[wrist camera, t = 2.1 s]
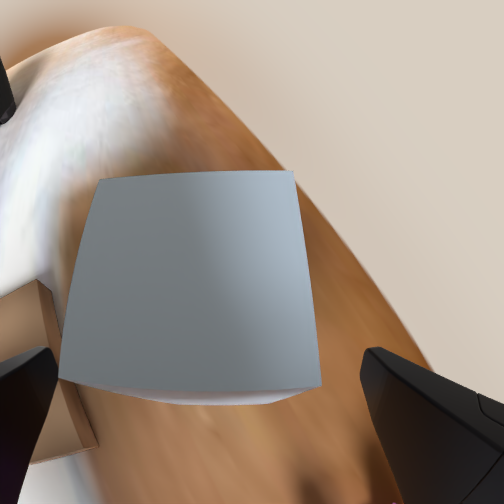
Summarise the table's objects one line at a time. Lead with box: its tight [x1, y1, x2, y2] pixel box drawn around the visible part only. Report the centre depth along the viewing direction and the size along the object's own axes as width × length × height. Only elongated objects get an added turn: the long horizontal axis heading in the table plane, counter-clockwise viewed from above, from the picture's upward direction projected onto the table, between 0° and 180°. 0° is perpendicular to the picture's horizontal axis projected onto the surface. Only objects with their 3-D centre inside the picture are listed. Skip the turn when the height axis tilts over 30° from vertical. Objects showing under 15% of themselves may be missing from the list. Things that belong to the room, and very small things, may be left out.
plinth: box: [0, 279, 99, 465], centre depth 13 cm, size 11×11×2 cm
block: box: [58, 171, 322, 405], centre depth 11 cm, size 5×5×12 cm
